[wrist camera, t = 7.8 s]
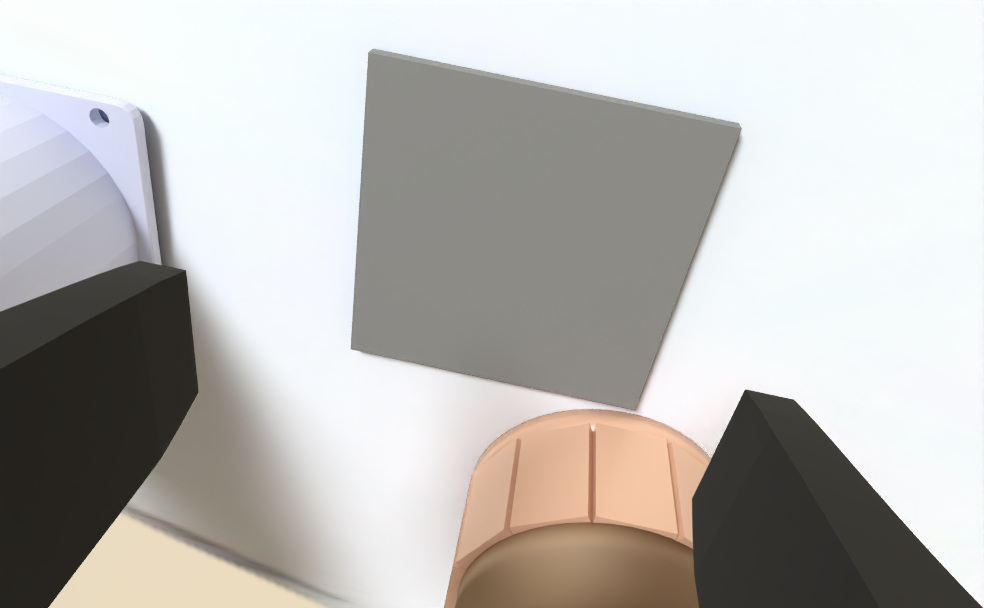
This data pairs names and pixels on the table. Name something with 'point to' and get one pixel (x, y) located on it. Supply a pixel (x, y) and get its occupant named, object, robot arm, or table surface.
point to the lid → (581, 570)
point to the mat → (526, 226)
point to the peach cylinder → (579, 480)
